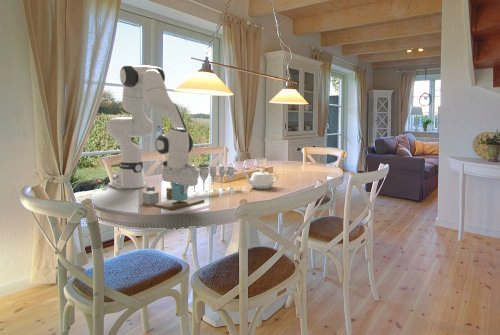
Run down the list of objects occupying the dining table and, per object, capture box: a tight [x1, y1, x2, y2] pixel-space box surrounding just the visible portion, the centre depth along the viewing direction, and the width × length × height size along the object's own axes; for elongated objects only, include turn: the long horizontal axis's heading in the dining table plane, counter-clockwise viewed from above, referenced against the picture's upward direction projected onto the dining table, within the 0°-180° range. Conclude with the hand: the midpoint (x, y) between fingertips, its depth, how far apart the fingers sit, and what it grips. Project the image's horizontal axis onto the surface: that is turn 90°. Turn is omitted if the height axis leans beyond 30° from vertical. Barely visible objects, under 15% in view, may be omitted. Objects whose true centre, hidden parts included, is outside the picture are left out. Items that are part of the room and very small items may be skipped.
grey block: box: [142, 190, 160, 205], centre depth 162 cm, size 5×5×5 cm
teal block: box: [171, 183, 188, 201], centre depth 160 cm, size 5×5×7 cm
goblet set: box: [190, 165, 236, 195], centre depth 191 cm, size 28×6×13 cm, turn 127°
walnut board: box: [153, 195, 205, 211], centre depth 161 cm, size 12×20×1 cm, turn 144°
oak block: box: [165, 186, 172, 200], centre depth 173 cm, size 5×5×5 cm
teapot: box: [242, 168, 279, 190], centre depth 201 cm, size 22×14×11 cm, turn 112°
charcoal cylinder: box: [145, 186, 156, 192], centre depth 173 cm, size 4×4×5 cm
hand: (179, 192), depth 161 cm, fingers closed on teal block, 5 cm apart
